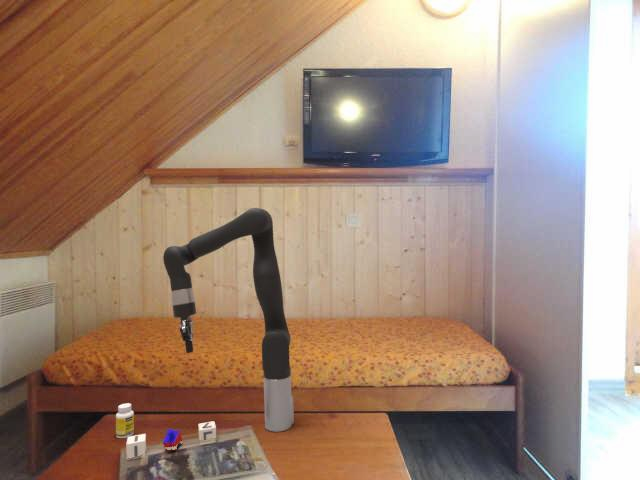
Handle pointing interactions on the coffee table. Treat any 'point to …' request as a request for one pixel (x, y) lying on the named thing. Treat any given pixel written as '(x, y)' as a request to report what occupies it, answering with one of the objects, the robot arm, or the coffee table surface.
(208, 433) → the cream block marked 7
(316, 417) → the coffee table surface
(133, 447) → the cream block marked 1
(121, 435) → the supplement bottle
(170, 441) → the toy car
